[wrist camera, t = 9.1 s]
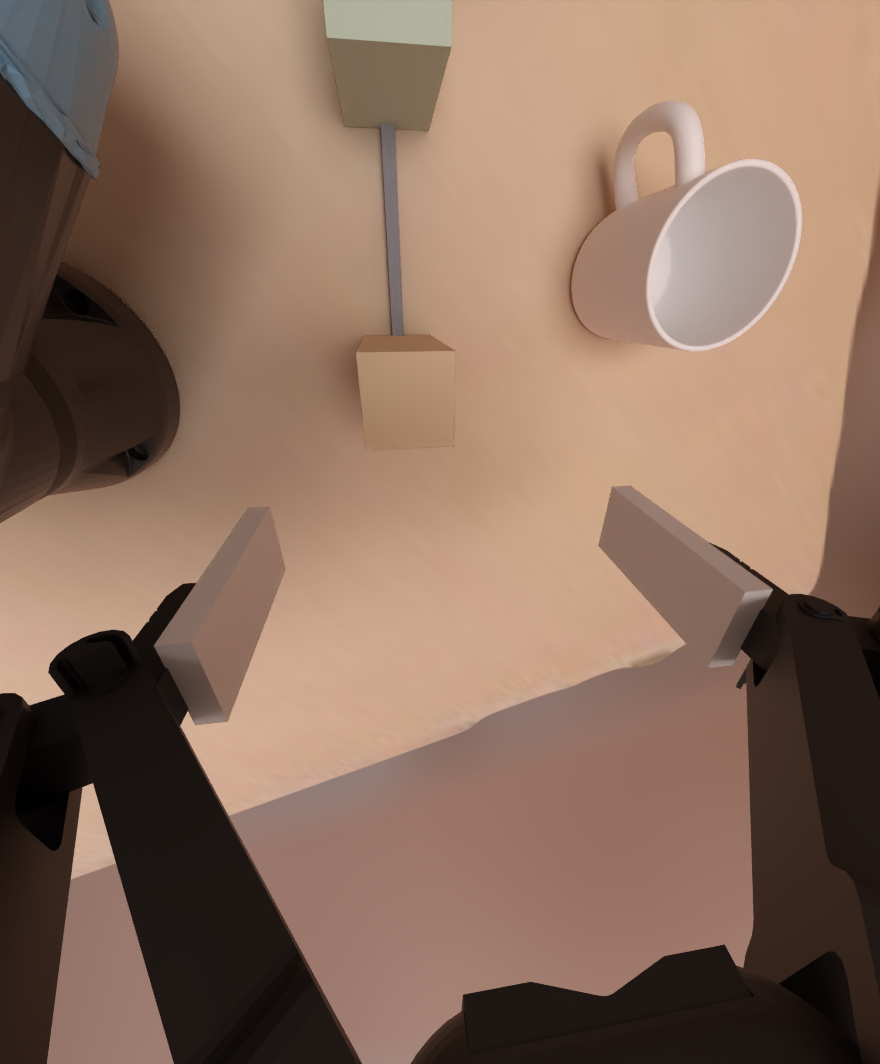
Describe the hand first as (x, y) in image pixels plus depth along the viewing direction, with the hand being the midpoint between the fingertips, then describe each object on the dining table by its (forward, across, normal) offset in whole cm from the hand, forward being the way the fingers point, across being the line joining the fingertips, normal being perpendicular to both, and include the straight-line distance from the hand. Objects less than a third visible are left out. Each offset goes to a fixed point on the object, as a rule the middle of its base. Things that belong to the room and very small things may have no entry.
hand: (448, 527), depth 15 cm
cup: (+20, +15, +11) cm, 27 cm away
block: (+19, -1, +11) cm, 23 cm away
